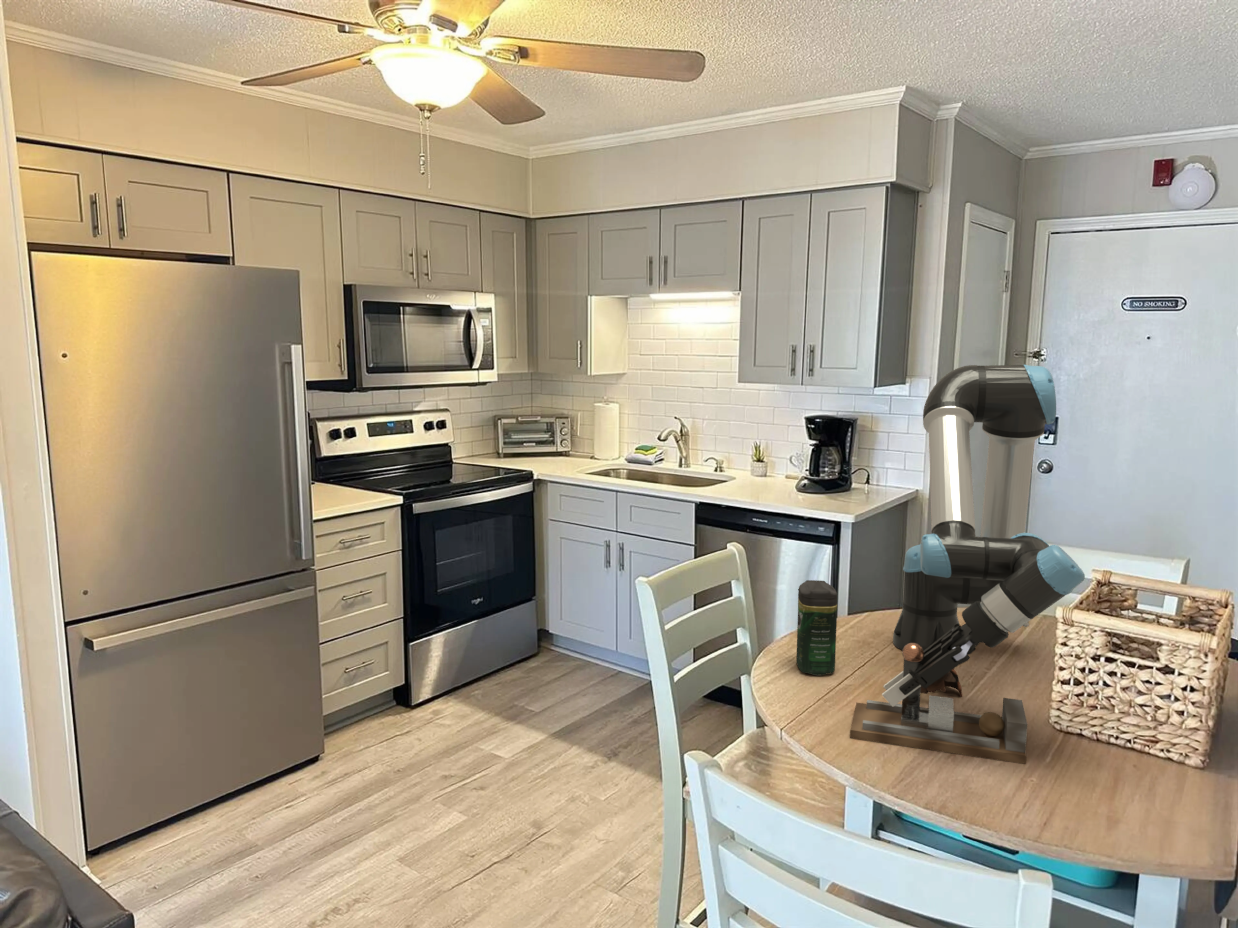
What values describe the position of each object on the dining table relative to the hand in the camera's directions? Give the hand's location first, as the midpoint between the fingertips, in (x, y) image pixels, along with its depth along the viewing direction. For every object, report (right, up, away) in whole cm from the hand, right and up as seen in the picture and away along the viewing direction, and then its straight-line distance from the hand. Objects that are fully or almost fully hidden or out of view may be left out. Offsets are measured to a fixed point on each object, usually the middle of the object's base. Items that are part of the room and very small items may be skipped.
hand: (888, 695), depth 153 cm
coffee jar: (-6, -2, +29) cm, 30 cm away
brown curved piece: (+14, -4, +17) cm, 22 cm away
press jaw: (+6, -5, -2) cm, 8 cm away
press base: (+8, -6, -2) cm, 10 cm away
